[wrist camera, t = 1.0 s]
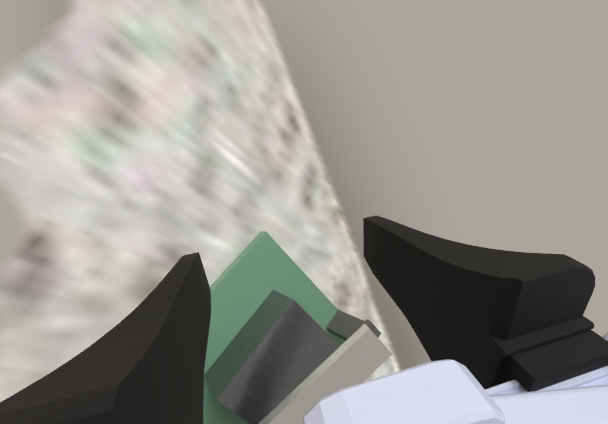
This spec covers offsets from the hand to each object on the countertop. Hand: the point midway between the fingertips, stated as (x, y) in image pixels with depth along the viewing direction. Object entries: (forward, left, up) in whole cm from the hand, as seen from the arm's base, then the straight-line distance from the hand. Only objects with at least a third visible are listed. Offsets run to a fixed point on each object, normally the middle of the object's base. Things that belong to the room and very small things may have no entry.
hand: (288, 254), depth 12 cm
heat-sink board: (-4, -11, -13) cm, 17 cm away
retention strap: (-5, -11, -6) cm, 13 cm away
